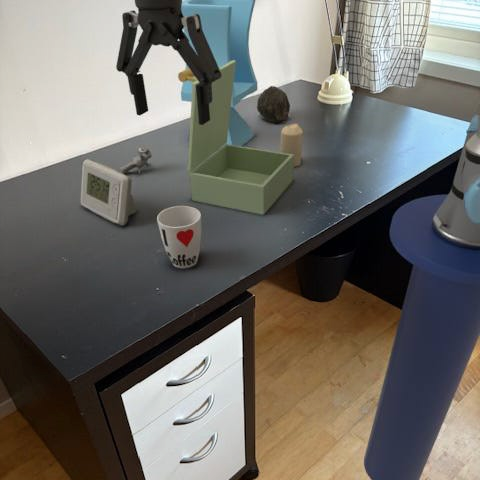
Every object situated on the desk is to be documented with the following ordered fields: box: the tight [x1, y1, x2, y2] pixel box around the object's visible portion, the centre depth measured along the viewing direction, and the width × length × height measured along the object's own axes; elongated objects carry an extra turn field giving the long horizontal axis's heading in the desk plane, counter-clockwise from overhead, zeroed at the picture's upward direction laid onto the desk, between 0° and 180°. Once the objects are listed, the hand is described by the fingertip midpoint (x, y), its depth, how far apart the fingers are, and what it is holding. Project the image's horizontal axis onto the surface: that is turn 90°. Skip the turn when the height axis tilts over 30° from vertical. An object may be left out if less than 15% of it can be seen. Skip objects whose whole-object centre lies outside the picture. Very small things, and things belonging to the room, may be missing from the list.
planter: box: [180, 0, 258, 151], centre depth 129 cm, size 16×16×35 cm
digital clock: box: [80, 158, 136, 227], centre depth 107 cm, size 16×9×11 cm, turn 37°
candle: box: [280, 123, 304, 168], centre depth 124 cm, size 6×6×10 cm
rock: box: [256, 85, 291, 123], centre depth 150 cm, size 10×11×10 cm
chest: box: [189, 144, 294, 216], centre depth 114 cm, size 19×19×7 cm
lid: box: [177, 60, 236, 173], centre depth 109 cm, size 19×19×8 cm
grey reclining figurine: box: [119, 147, 152, 175], centre depth 125 cm, size 10×6×9 cm
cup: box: [156, 205, 202, 269], centre depth 91 cm, size 8×8×10 cm
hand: (172, 117), depth 88 cm, fingers open, 13 cm apart
